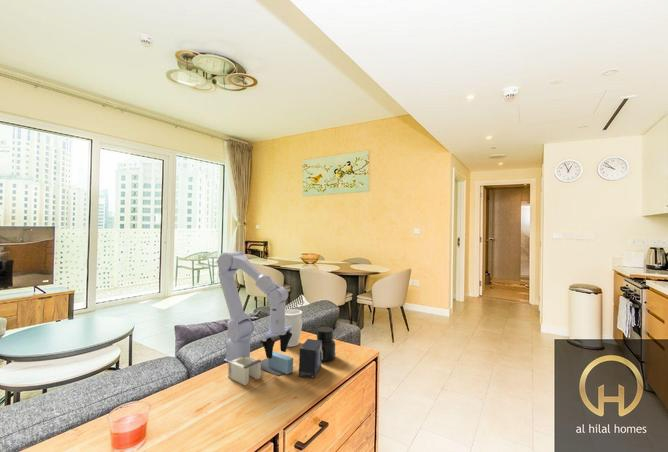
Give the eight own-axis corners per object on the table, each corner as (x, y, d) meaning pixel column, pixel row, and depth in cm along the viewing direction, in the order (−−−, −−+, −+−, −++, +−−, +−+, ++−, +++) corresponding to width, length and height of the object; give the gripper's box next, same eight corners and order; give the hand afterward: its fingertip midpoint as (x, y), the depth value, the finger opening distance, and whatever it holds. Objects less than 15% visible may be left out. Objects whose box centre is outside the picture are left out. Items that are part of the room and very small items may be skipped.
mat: (252, 365, 124) (252, 364, 124) (267, 358, 130) (267, 357, 130) (278, 376, 116) (278, 375, 116) (293, 368, 122) (293, 367, 122)
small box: (315, 379, 114) (315, 350, 114) (297, 377, 115) (298, 348, 115) (322, 366, 124) (322, 339, 124) (306, 364, 126) (306, 338, 126)
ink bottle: (312, 354, 136) (312, 326, 136) (332, 352, 138) (332, 325, 138) (316, 364, 127) (316, 333, 127) (337, 362, 129) (338, 332, 129)
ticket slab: (268, 366, 122) (268, 353, 122) (273, 364, 125) (274, 351, 125) (287, 374, 117) (287, 360, 117) (292, 371, 119) (293, 357, 119)
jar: (275, 347, 143) (276, 313, 143) (282, 339, 153) (283, 307, 153) (298, 349, 141) (298, 315, 141) (304, 340, 152) (304, 309, 151)
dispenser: (228, 377, 114) (228, 360, 114) (243, 370, 120) (244, 353, 120) (245, 385, 109) (245, 367, 109) (260, 377, 114) (260, 360, 114)
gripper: (271, 326, 114) (269, 363, 114) (297, 316, 125) (296, 351, 126) (257, 322, 117) (256, 358, 118) (284, 313, 129) (283, 346, 130)
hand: (276, 354), depth 122 cm, fingers open, 7 cm apart
